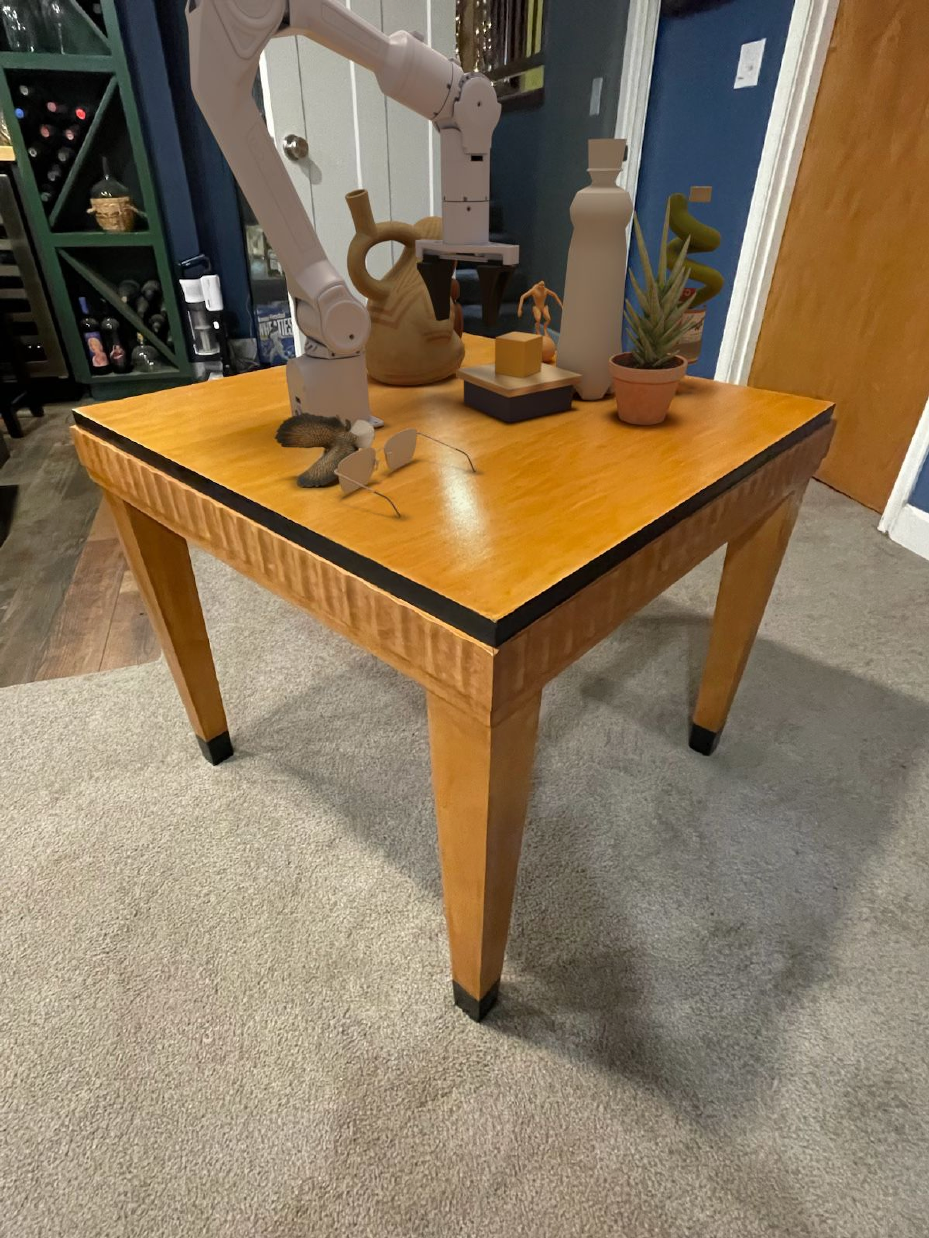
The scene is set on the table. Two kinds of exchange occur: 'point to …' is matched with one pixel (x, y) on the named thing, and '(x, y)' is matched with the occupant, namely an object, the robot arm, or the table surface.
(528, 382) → the box
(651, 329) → the potted plant
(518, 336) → the block
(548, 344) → the figurine
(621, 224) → the bottle
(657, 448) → the table surface
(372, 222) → the ceramic vessel
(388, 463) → the eyeglasses
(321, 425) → the eagle figurine
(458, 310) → the wooden figurine
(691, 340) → the snake in a can
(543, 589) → the table surface
